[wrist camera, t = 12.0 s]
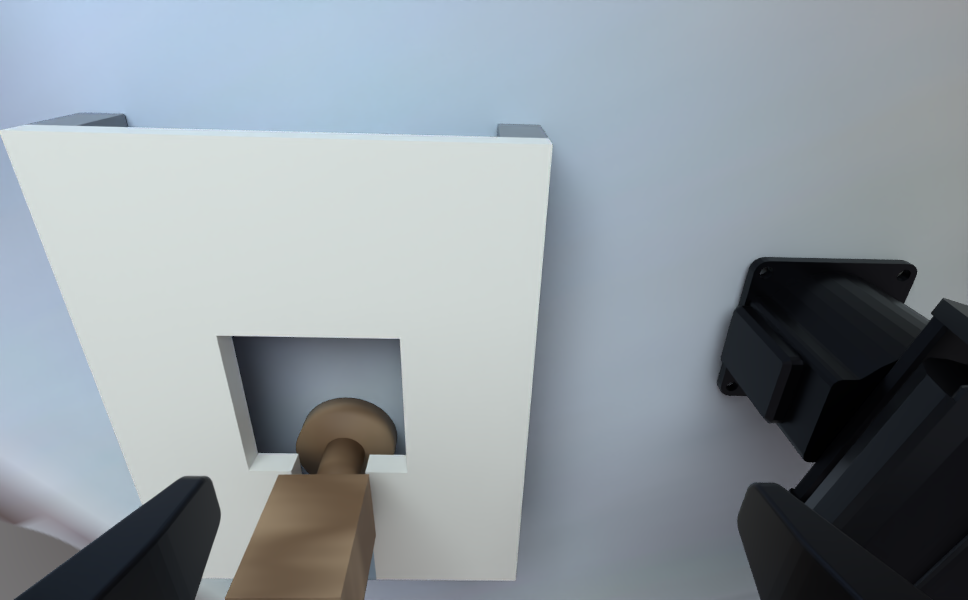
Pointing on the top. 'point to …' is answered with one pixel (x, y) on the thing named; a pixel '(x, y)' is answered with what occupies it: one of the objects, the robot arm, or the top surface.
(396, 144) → the keyhole plate
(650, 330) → the top surface
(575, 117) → the top surface
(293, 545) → the T-peg
